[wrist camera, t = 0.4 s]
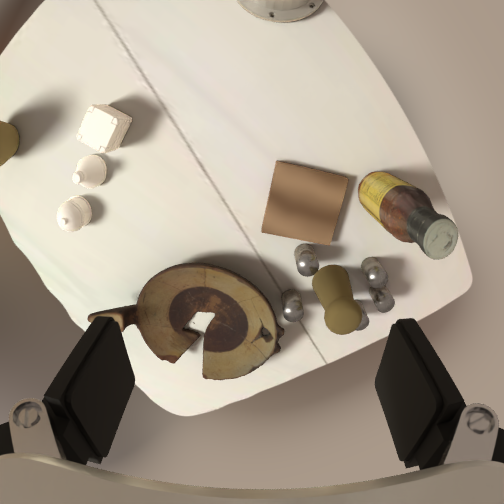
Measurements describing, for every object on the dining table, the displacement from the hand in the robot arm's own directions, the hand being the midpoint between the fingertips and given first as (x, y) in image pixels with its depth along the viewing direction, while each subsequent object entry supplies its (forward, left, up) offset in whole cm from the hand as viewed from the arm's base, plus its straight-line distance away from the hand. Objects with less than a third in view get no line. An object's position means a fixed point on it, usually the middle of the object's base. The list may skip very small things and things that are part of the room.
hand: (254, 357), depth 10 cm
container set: (+4, -24, -36) cm, 44 cm away
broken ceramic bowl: (+24, -6, -36) cm, 44 cm away
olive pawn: (+15, +15, -36) cm, 41 cm away
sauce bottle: (-1, +17, -36) cm, 39 cm away
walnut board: (+4, +7, -35) cm, 36 cm away
